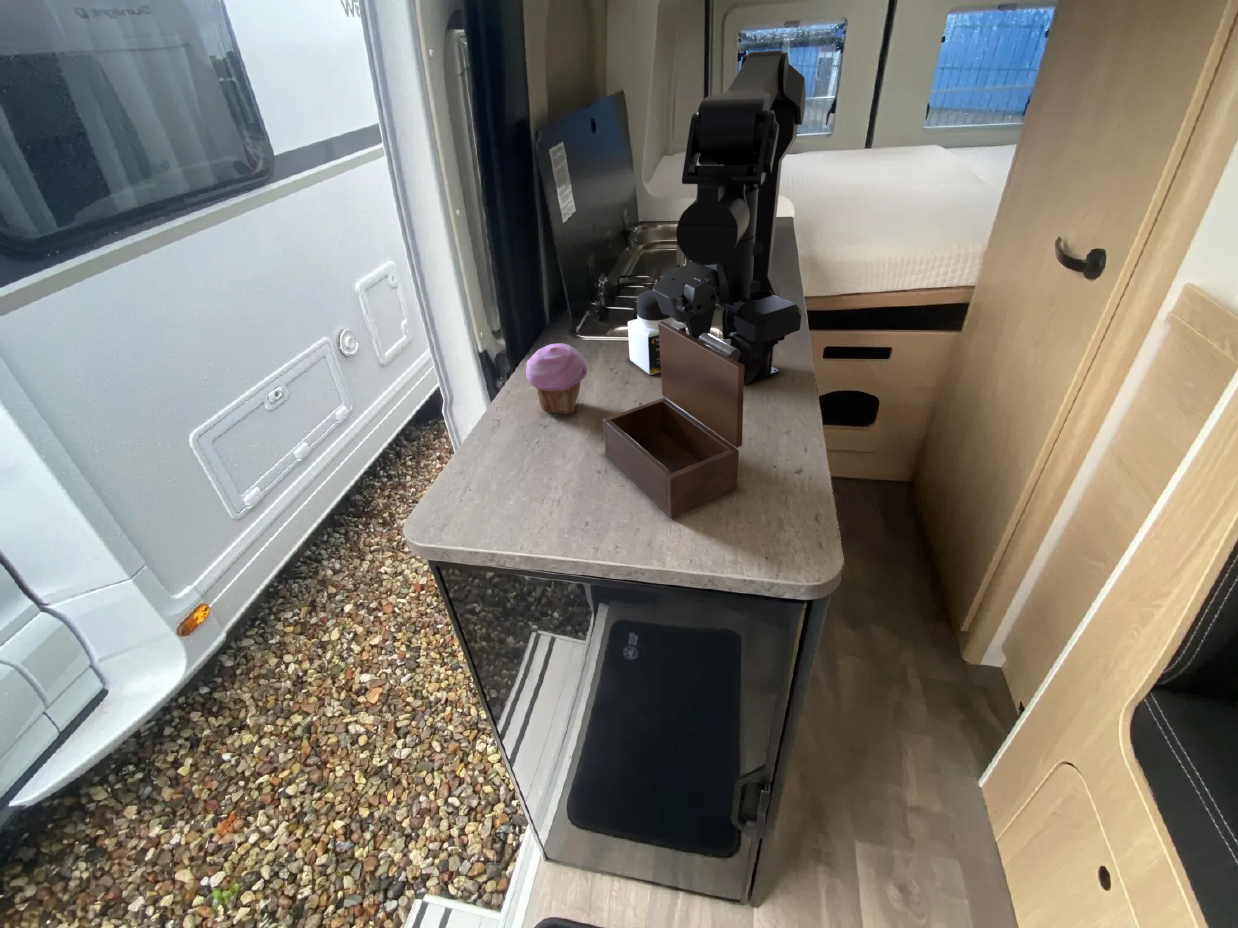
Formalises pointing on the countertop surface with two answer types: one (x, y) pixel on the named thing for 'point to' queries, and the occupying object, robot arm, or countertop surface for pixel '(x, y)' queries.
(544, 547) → the countertop surface
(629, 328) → the medicine bottle
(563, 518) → the countertop surface
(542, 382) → the cupcake
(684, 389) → the hatch
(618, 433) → the storage box
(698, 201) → the robot arm
